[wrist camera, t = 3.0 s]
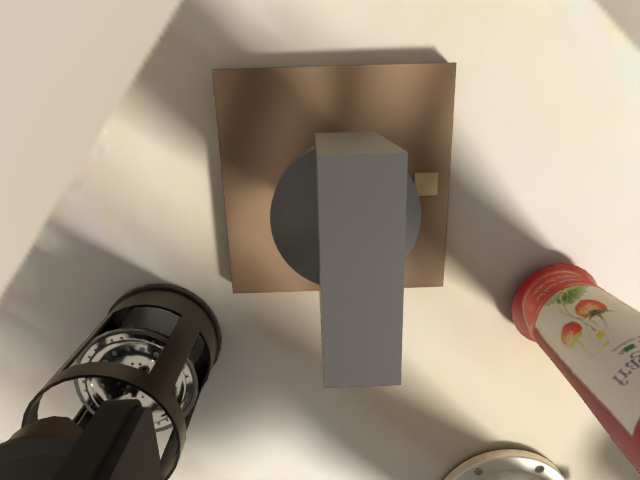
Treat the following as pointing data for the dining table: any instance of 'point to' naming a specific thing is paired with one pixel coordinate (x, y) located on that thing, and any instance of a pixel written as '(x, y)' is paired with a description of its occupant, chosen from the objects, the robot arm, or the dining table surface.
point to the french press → (123, 381)
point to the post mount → (299, 134)
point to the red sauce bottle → (587, 345)
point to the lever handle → (351, 248)
